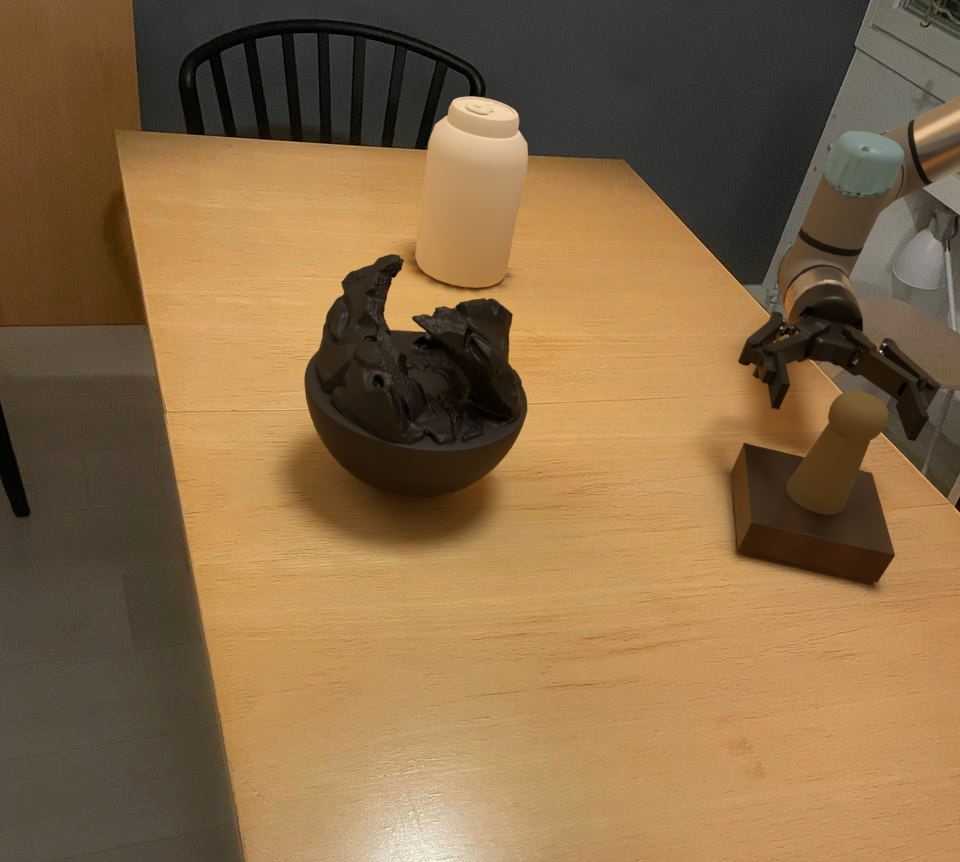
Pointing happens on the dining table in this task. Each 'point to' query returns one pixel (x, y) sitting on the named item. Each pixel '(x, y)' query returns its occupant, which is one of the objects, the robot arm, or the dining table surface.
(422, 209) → the can
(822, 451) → the wooden peg doll
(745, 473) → the walnut stand
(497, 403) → the bowl of black rocks
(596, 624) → the dining table surface
